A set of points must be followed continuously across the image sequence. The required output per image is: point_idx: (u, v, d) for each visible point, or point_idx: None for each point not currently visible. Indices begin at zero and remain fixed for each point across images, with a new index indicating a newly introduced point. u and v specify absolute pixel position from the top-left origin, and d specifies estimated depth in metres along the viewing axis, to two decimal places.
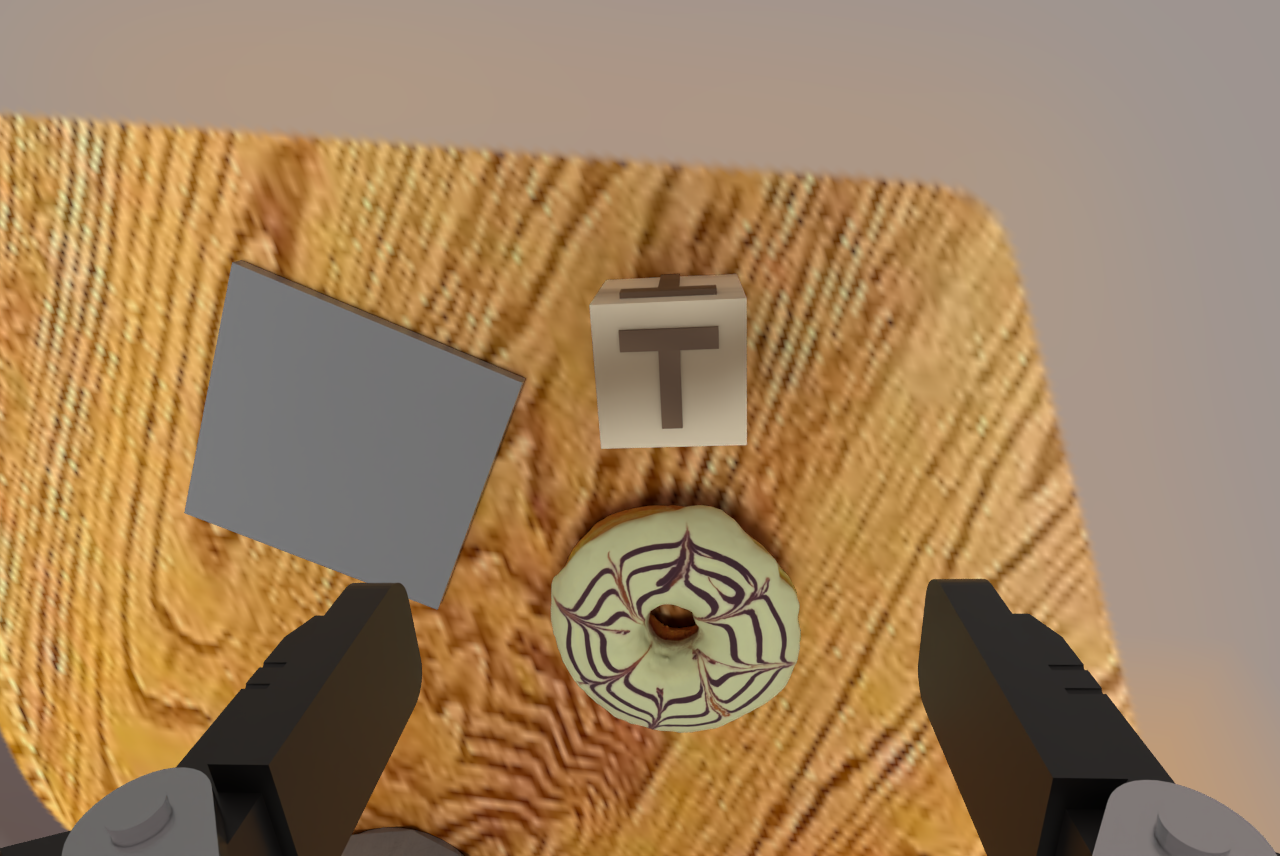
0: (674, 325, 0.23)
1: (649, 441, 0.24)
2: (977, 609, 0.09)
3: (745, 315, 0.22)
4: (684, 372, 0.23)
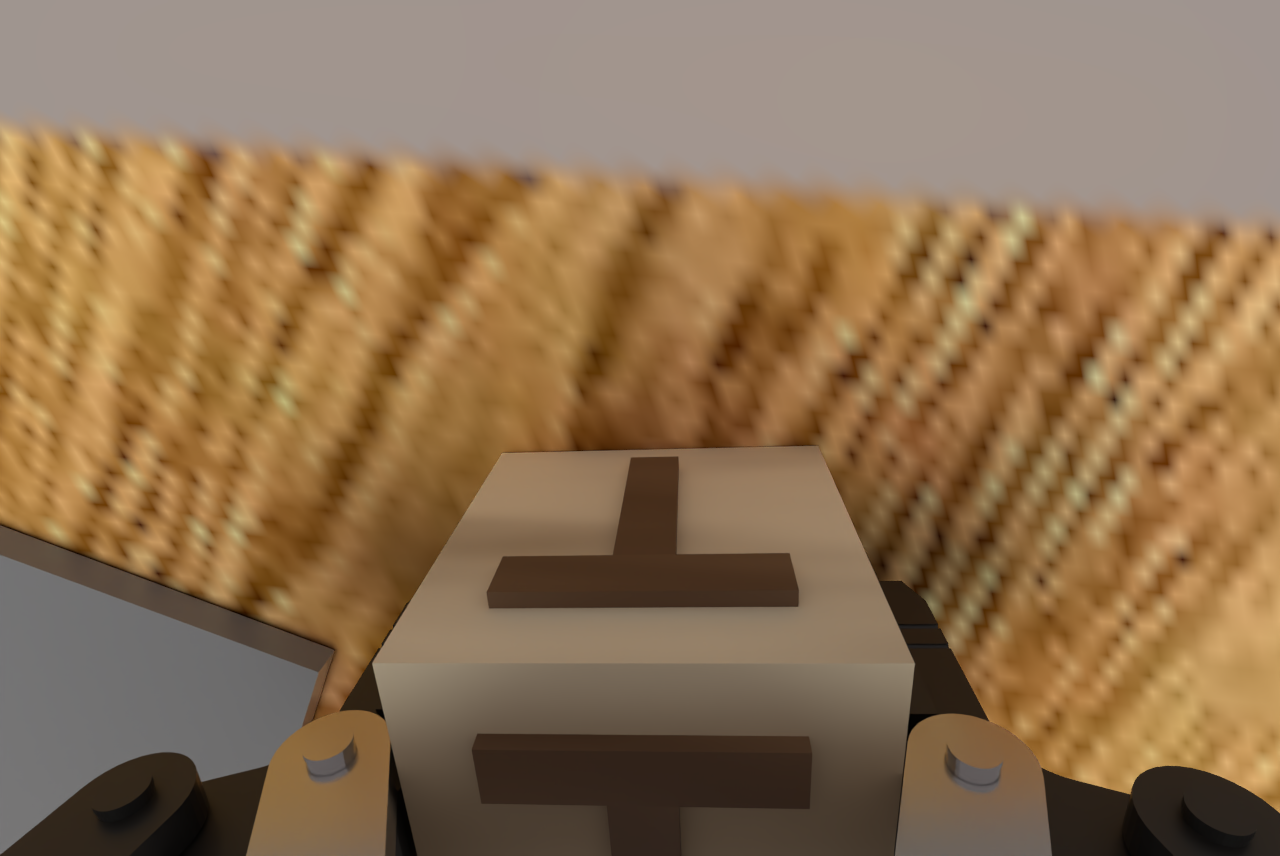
0: (661, 728, 0.07)
1: None
2: None
3: (905, 711, 0.06)
4: (694, 847, 0.07)
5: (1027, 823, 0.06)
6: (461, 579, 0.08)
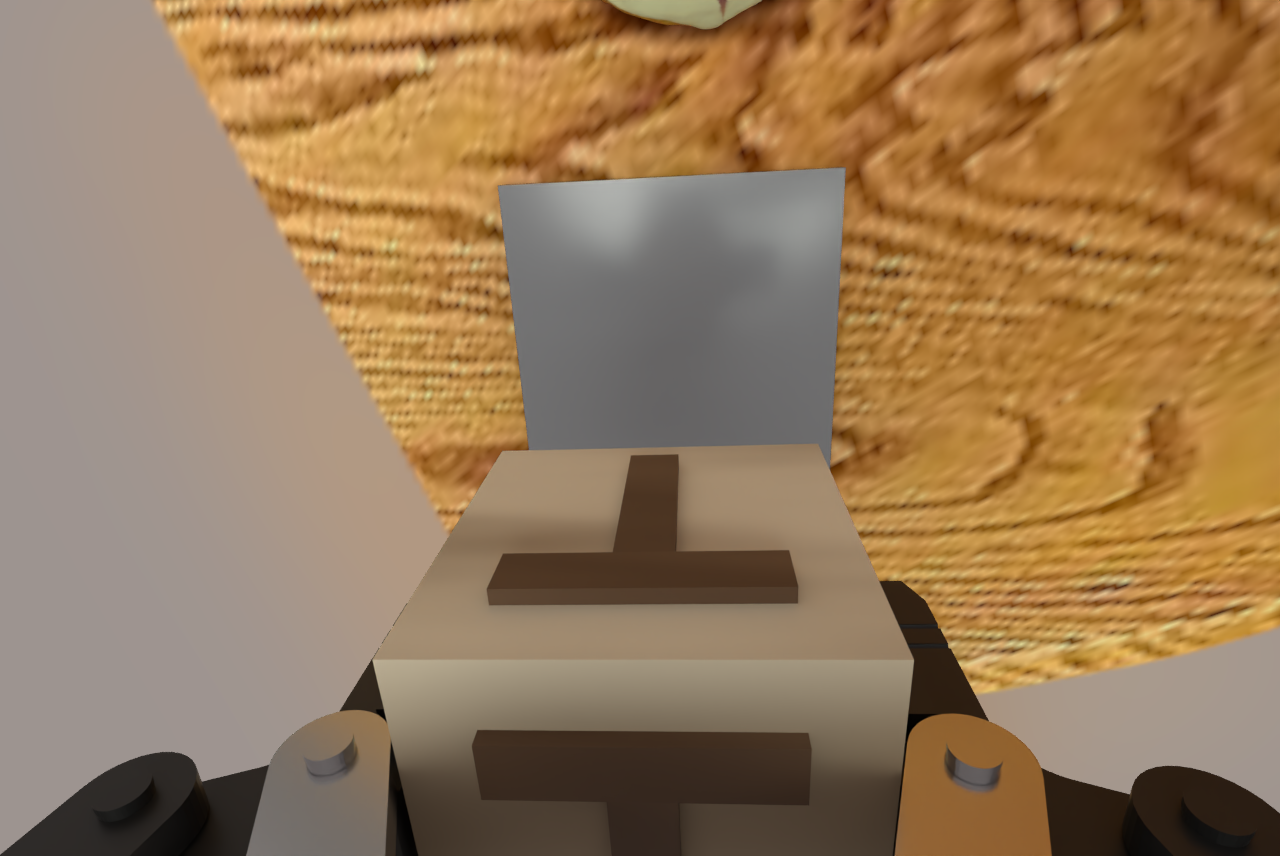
0: (661, 724, 0.07)
1: None
2: None
3: (904, 707, 0.06)
4: (693, 844, 0.07)
5: (1027, 823, 0.06)
6: (461, 576, 0.08)
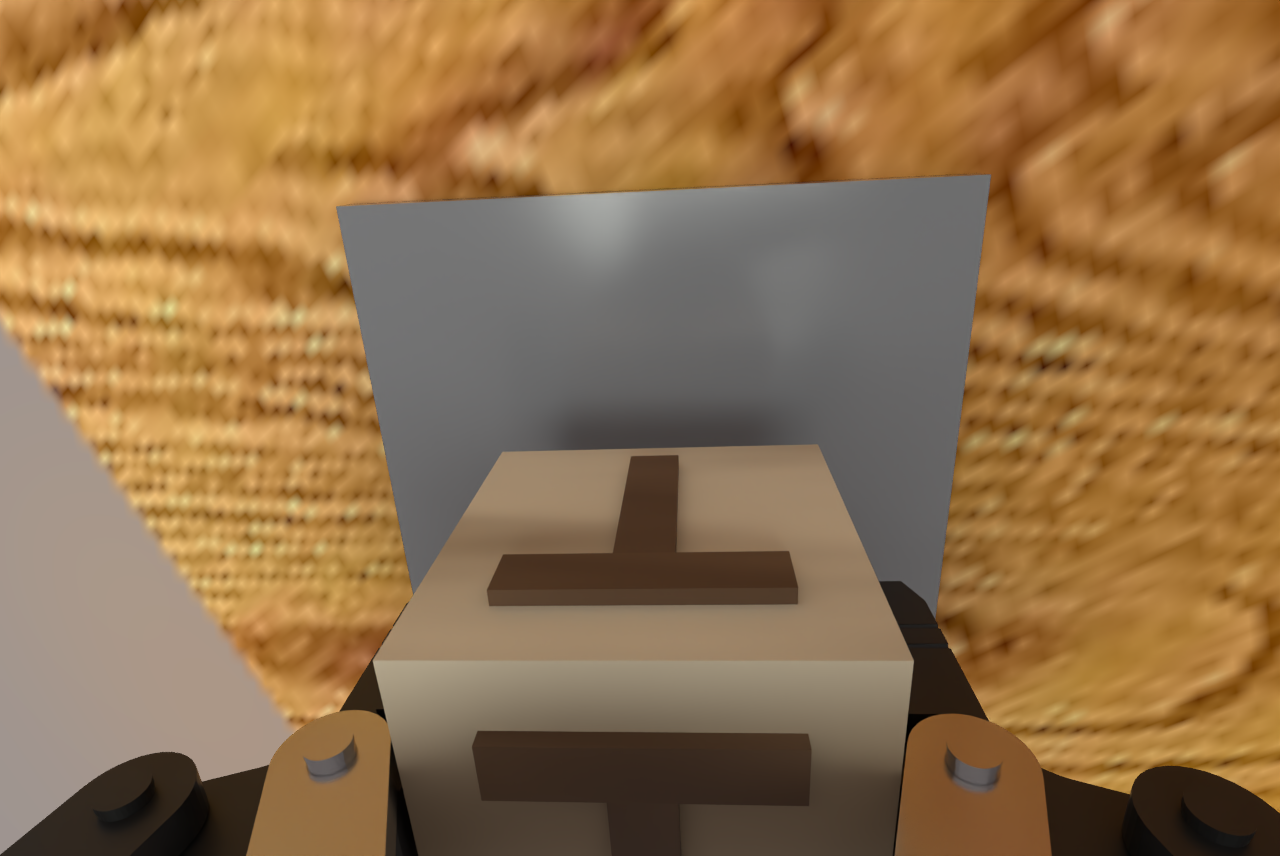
0: (662, 726, 0.07)
1: None
2: None
3: (904, 708, 0.06)
4: (693, 844, 0.07)
5: (1026, 823, 0.06)
6: (461, 577, 0.08)
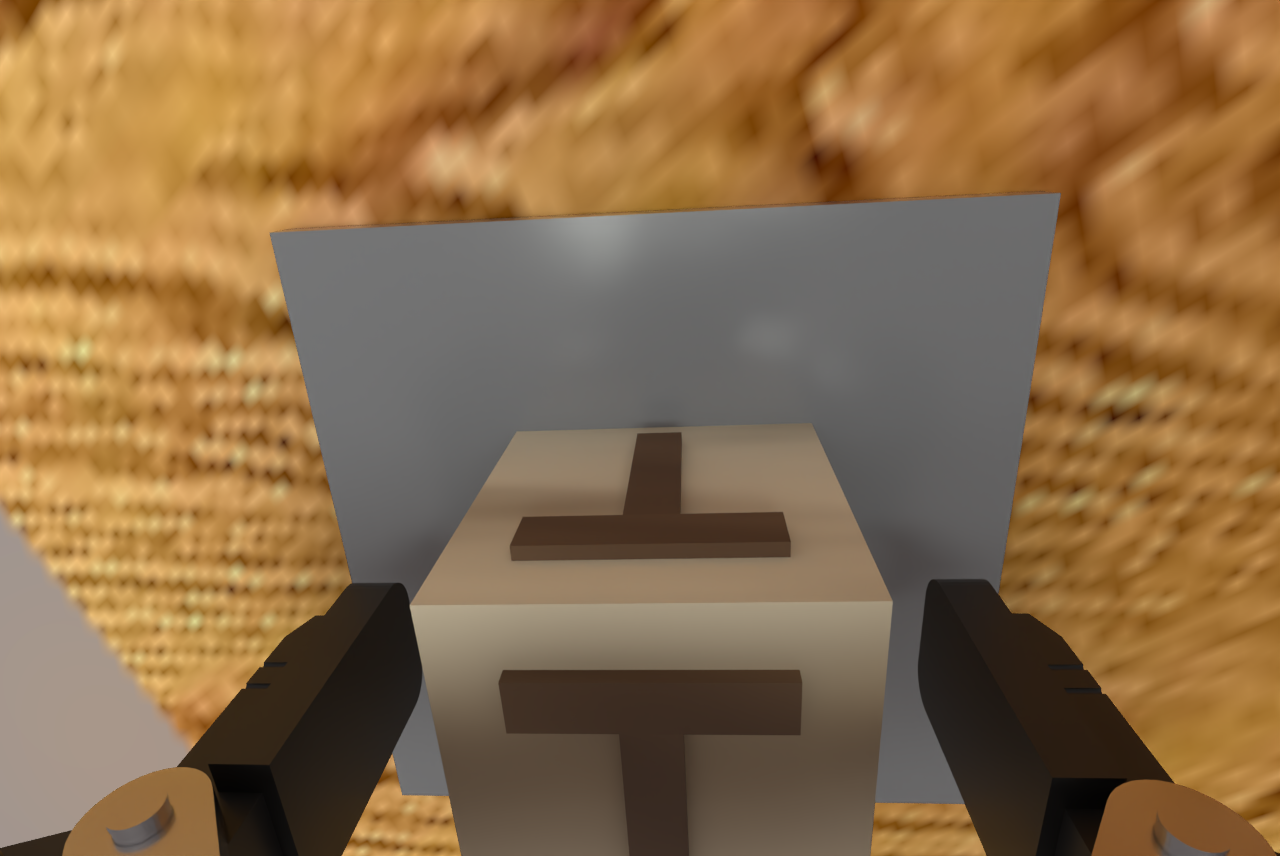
0: (668, 663, 0.07)
1: None
2: (976, 609, 0.09)
3: (885, 645, 0.07)
4: (697, 774, 0.08)
5: None
6: (485, 537, 0.09)
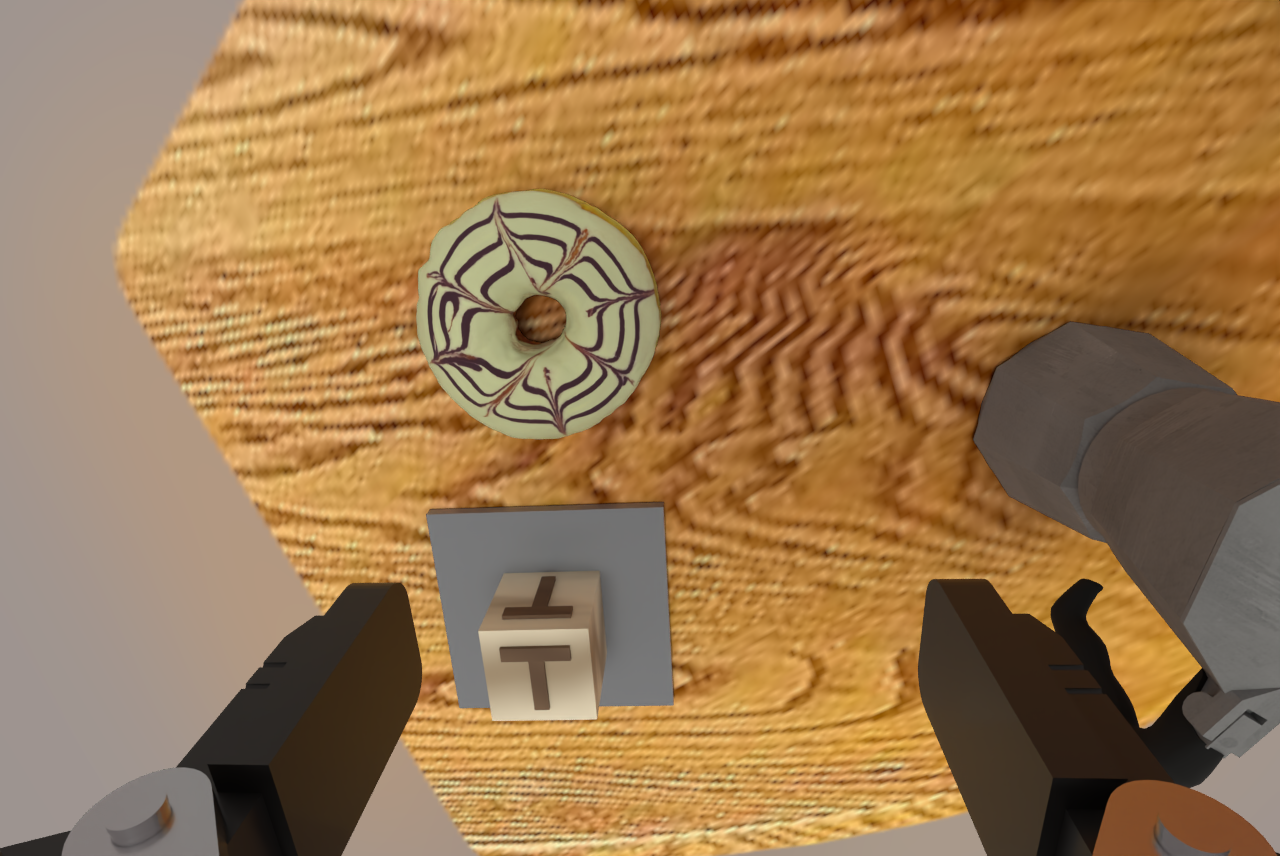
0: (539, 644, 0.32)
1: (527, 716, 0.33)
2: (977, 609, 0.09)
3: (588, 638, 0.32)
4: (548, 673, 0.32)
5: None
6: (495, 613, 0.33)
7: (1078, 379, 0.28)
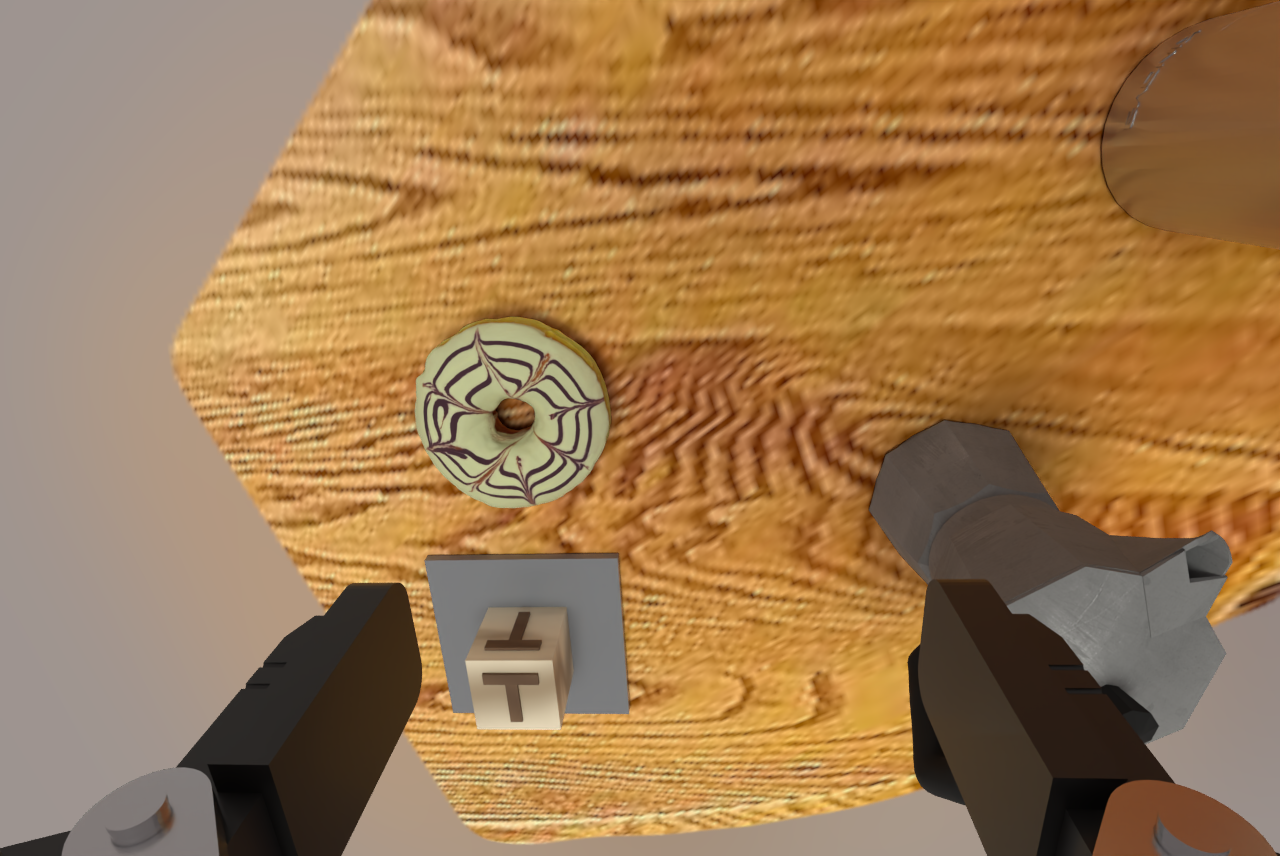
0: (513, 671, 0.40)
1: (504, 726, 0.41)
2: (977, 609, 0.09)
3: (552, 668, 0.40)
4: (521, 693, 0.40)
5: None
6: (479, 644, 0.41)
7: (938, 476, 0.35)
